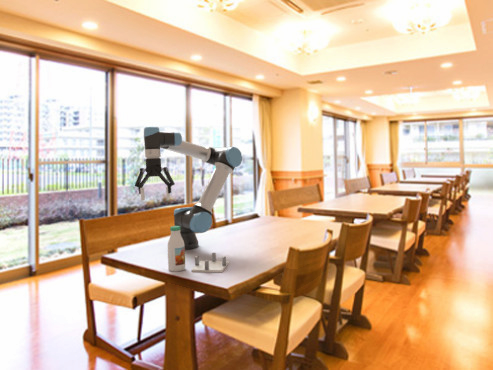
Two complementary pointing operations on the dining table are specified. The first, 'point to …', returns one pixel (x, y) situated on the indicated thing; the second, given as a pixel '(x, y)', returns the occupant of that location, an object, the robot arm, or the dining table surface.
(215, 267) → the white peg board
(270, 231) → the dining table surface
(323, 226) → the dining table surface
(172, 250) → the milk bottle
